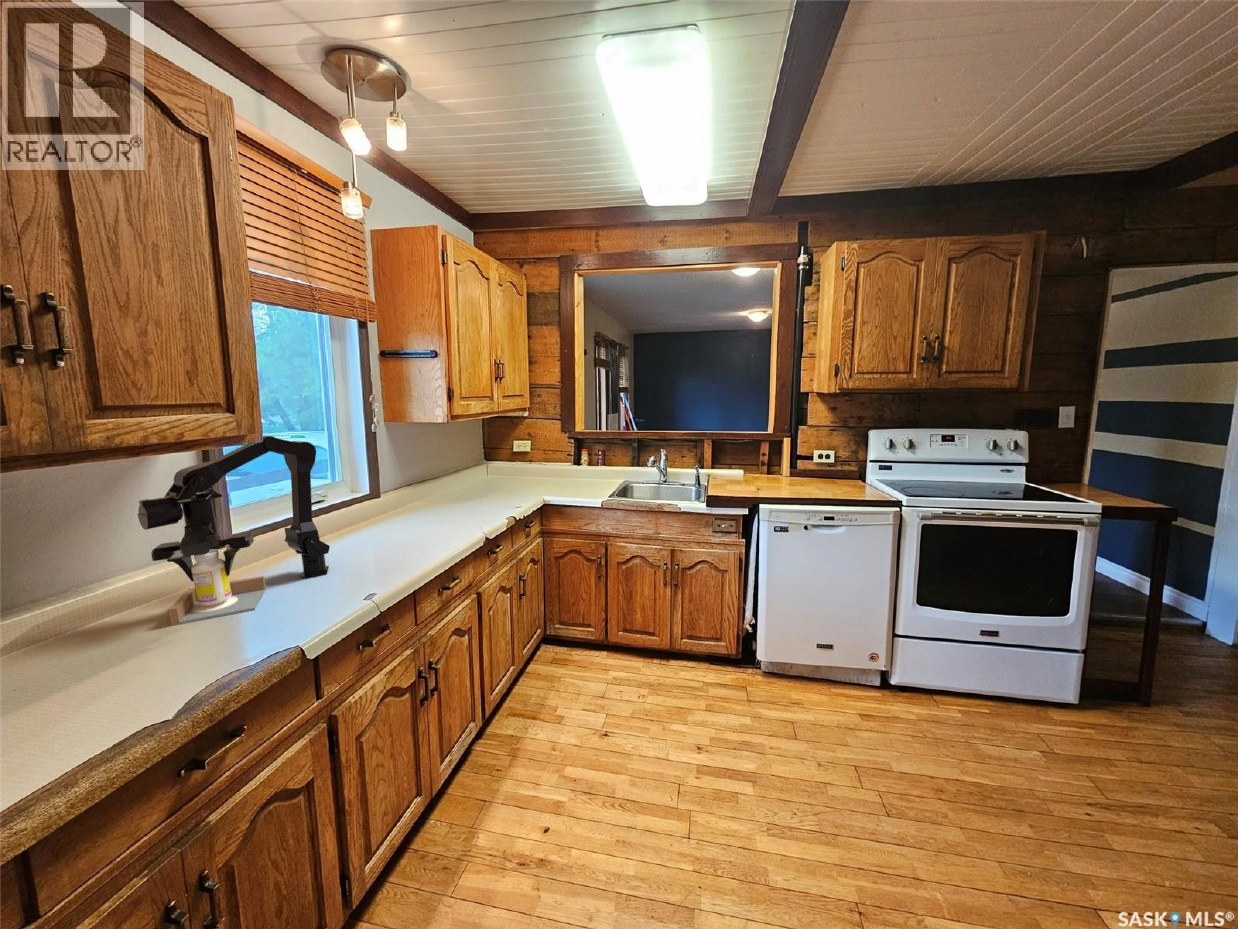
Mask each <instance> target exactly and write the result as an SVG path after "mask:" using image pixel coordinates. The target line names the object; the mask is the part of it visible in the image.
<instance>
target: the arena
mask: <svg viewBox="0 0 1238 929" xmlns="http://www.w3.org/2000/svg"><path fill="white" fill-rule="evenodd" d="M229 583H230V588H231V593H232V595H231V597H230V598H229V599H227V600H225V601H223V602H220V603H217V604H213V605H200V604H199V603H198V600H197V595H196V590H195V586H194V587H190V588H188V589H186V591H185V592H184V593H183V594H182V595H181V596H180V597H179V598H178V599H177V600H176V601H175V602H174V603H173V604H172V606H171V607H169V608H168V614H169V620H170V625H171V627H172V626H177V625H182V624H187V623H194V622H198V621H203V620H208V619H213V618H218V617H219V618H220V617H225V616H229V615H234V614H236V615H237V614H239V613H245V612H251V611H255V610H256V608H257V607H258V605H259V603H260V601H261V600H262V598H263V596H264V594H265V592H266V591H267V587H266V581H265V575H261V576H255V577H250V578H244V579H238V580H237V579H236V580H232V581H230V580H229Z"/></svg>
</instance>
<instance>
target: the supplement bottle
mask: <svg viewBox="0 0 1238 929" xmlns="http://www.w3.org/2000/svg"><path fill="white" fill-rule="evenodd" d="M219 556H220V552H219V550H218V549H210V550H209V552H208V553H207V554H203V555H200V554H199V555H193V558H194V561H195V562H196V563H195V564H193V567H192V569H191V571H192V576H193V580H194V581H193V585H194V587H195V590H196V595H197V600H198V603H199V604H200V605H213V604H217V603H220V602H223V601H225V600H227V599H229V598H230V597H231V595H232V593H231V588H230V583H229V582H230V579H229V578H230V577H229V576H227V575H226V569H225V559H223V558H219Z"/></svg>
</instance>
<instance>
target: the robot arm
mask: <svg viewBox="0 0 1238 929" xmlns="http://www.w3.org/2000/svg"><path fill="white" fill-rule="evenodd" d="M262 436H263V442H262V443H257V444H254V445H246V444H244V445H243V446H240V447H238V448H235V449H233V450H232V451H230V452H227V453H225V454H223V455H221V456H219V457H217V458H215V459H212V460H210V461H206V462H202V463H198V464H194V465H191V466H187V467H185V468H184V467H183V468H181V469H179V470H178V471H176V472H175V474H174V477H173V483H172V485H171V486H170V488H168V491H167V492H166V494H165V495H164V497H157V498H152V499H149V498H147V499H140V500H139V501H138V504H139V505H138V509H137V510H138V511H137V512H138V513H137V518H138V521H139V524H140V526H141V528H142V529H143V530H150V529H155V528H160V527H166V526H170V525H175V524H178V523H179V521H181V520H183V519H184V524H185V525H184V527H183V528H184V529H183V530H184V534H183V537H182V538H181V541H172V542H171V541H170V542H165V543H160V544H158V546H156V547H154V548H153V549H152V550H151V555H150V556H151V560H152V561H153V562H156V561H163V560H166V561H167V563H171V562H173V563H174V564H176V565H178V566H179V568H180V569H182V571H183V572H184V574H185V575H186V576H187V577H188V579H189V580H190V581H191V582H193V583H194V580H193V576H192V571H191V569H192V567H193V565H194V564H193V560H192V556H194V555H199V554H200V555H203V554H207V553H208V552H209V550H211V549H216V548H223V547H225V549H224V551H223V556H224V561H225V569H226V575H227V576H228V577H229V576H230V575H231V571H232V566H233V564H234V560H235V557H236V554H237V553H238V552H240V550H241V549H246V548H249V547H251V545H252V544H254V542H255V539H254V535H253V533H252V532H251V531H246V532H238V533H233V534H232V535H231V536H230V537H228V538H221V537H220V533H219V531H218V526H217V523H218V520H217V517H216V516H215V508H214V503H213V499H217V498H222V497H223V494H221V493H219V492H217V491H216V490H215V489H213V488H212V487H213V486H215V485H216V484H217V483H219V482H220V480H222V478H223V477H224V476H226V475H227V474H229V473H230V472H233V471H234V470H236V469H238V468H240V467H243V466H244V465H246V464H248V463H250V462H252V461H254V460H255V459H258V458H260V457H261V456H264V455H266V454H267V453H269V452H271V453H274V454H279V455H283V458H284V462H285V464H286V466H287V468H288V470H289V472H290V477H291V478H290V481H291V482H290V483H291V503H292V504H291V505H292V507H291V508H292V522H291V525H290V527H285V528H284V533H285V539H284V542H286V543H287V546H288V547H289V548H290V549H292V550H294V551H295V552H296V554H299V555H301V563H302V569H303V570H302V574H301V576H300V577H301V579H307V578H311V577H317V576H324V575H327V574H328V573H329V565H327V564H326V556H325V555H326V554H329V552H330V547H331V546H330V545H329V544H327V543H325V542H323V541H322V540H321V539H320V535H319V531H318V530H319V529H318V528H317V526H316V524H315V523H314V520H313V508H312V506H313V505H312V502H313V501H312V480H311V478H312V477H311V471H312V470H313V468H314V466H315V463H316V457H317V448H316V446H315V445H314V444H313V443H311V442H309V441H301V440H292V441H291V440H286V439H281V438H278V437H275V436H273V435H262Z"/></svg>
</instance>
